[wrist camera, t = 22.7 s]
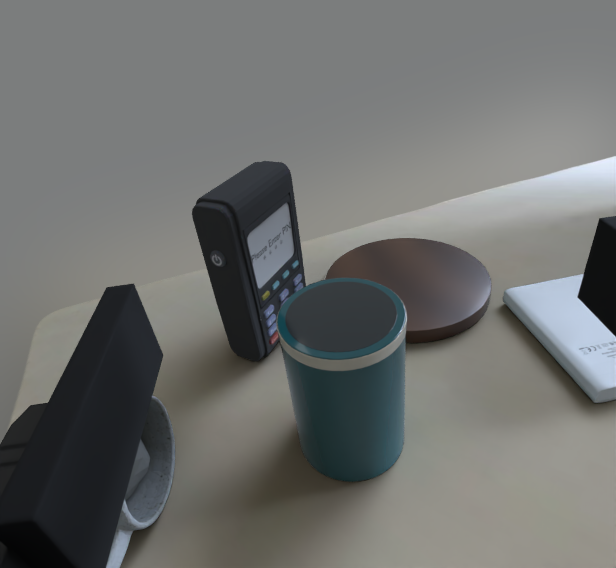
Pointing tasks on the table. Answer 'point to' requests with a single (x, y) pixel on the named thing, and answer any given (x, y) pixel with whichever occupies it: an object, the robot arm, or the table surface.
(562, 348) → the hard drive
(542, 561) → the table surface
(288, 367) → the tumbler
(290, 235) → the card reader
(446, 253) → the plate
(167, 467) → the ceramic mug
